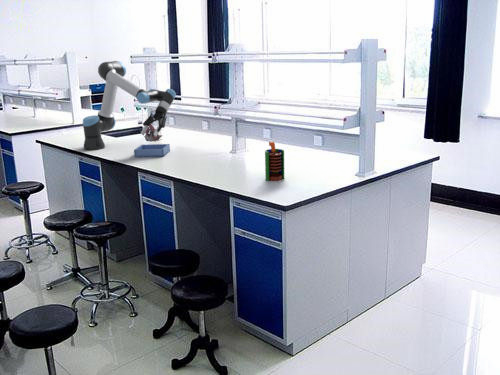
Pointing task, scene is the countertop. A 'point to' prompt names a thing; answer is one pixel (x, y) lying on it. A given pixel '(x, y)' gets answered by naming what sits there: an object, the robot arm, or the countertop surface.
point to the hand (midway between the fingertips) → (148, 134)
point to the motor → (274, 163)
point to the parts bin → (152, 150)
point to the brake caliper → (151, 134)
